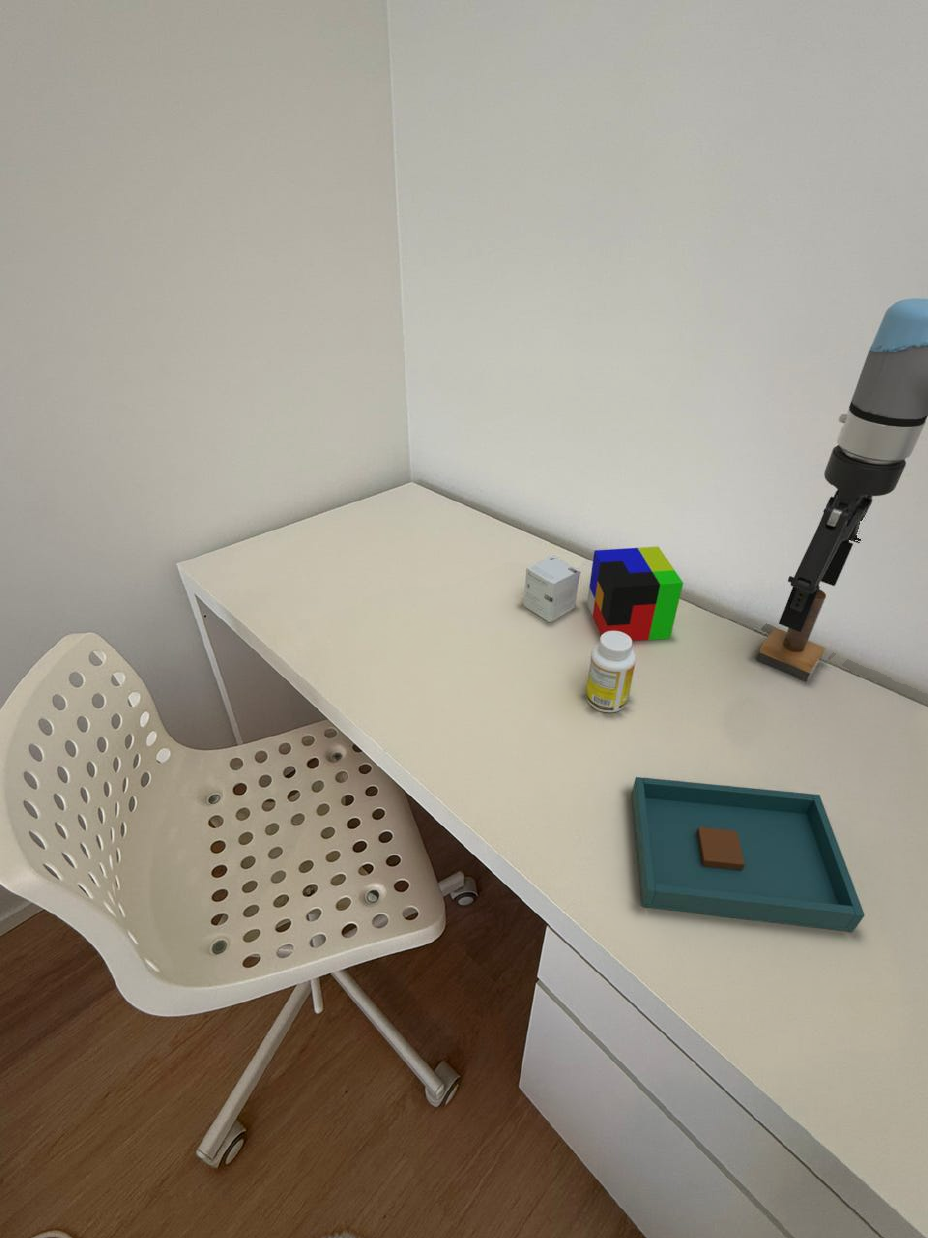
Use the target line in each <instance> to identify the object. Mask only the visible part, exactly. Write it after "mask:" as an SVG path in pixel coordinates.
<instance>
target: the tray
mask: <svg viewBox="0 0 928 1238" xmlns="http://www.w3.org/2000/svg"><path fill="white" fill-rule="evenodd" d="M631 802H632V803H631V805H632V813H633V815H632V816H633V823H634V824H633V825H634V833H635V834H634V835H635V845H636V847H635V848H636V854H637V856H636V857H637V867H638V878H639V888H640V898H641V907H642V908H648V909H649V908H650V909H657V910H665V911H673V912H682V913H689V914H691V913H692V914H699V915H706V916H707V915H708V916H716V917H724V918H732V919H740V920H748V921H749V920H750V921H758V922H766V923H775V924H781V925H782V924H783V925H791V926H798V927H807V928H817V929H824V930H832V931H841V932H848V933H850V932H851V933H853V932H854V931H855V930H856V928H858V925H860V923H861V921H862V920H863V919H864V917H865V916H866V915H865V912H864V910H863V907H862V904H861V902H860V899H859V896H858V894H857V891H856V888H855V885H854V882H853V880H852V878H851V875H850V872H849V869H848V866H847V864H846V861H845V859H844V857H843V854H842V851H841V848H840V845H839V842H838V840H837V837H836V835H835V832H834V829H833V827H832V824H831V821H830V819H829V816H828V814H827V813H828V812H827V811H826V808H825V805H824V803H823V800H822V798H821V795H820V794H811V793H805V792H804V793H803V792H795V791H794V792H792V791H784V790H783V791H782V790H772V789H762V788H752V787H743V786H740V787H739V786H731V785H723V784H714V783H702V782H692V781H683V780H671V779H661V778H653V777H652V778H651V777H641V776H635V779H634V782H633V786H632V792H631ZM698 827H706V828H715V829H724V830H734V831H737V833H738V838H739V842H740V846H741V850H742V854H743V859H744V863H745V866H744V868H743V870H742V871H737V870H728V869H719V868H710V867H702V865H701V859H700V853H699V848H698V842H697V837H696V832H697V829H698Z"/></svg>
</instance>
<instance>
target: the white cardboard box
mask: <svg viewBox="0 0 928 1238" xmlns="http://www.w3.org/2000/svg"><path fill="white" fill-rule="evenodd" d="M525 568H526V569H525V580H524V590H523V591H524V592H523V603H522V604H523V607H525V608H527V609H528V610H529V611H531V612H533V613H535V614H536V615H537V616H539V617H540V618H542V619H543V620H545V621H546V622H547V623H551V622H553V621H555V620H557V619H559V618H560V617H562V616H564V615H565V614H567V613H569V612H571V611H572V610H574V609H575V608H576V604H577V597H578V596H577V595H578V590H579V583H580V576H581V570H580V569H578V568H576V567H574V566H573V565H571V564H570V563H568V562H567V561H564V560H562V559H560V558H558V557H557V556H554V555H550V556H548V557H546V558H543V559H541V560H540V561H538V562H535V563H533V564H531V565H529V566H527V567H525Z"/></svg>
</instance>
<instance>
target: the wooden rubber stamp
mask: <svg viewBox="0 0 928 1238" xmlns="http://www.w3.org/2000/svg"><path fill="white" fill-rule="evenodd" d="M826 598H827V595H826V592H824V591H823V590H821V589H820V588H819V591H818V593H817V596H816V598H815V600H814V603H813V605H812V608H811V610H810V612H809V615H808V617H807V620H806V622H805V624H804V627H803V629H802V631H801V632H798V631H796V630H793V629H791V628H788V627H787V631H784V630H783V629H780V628H777V627H774V628H773V630H772V631H771V632H770V633H769V635H768V636H767V637H766V638H765V640H764V641H763V642H762V644H761V646H760V649H759V652H758V654H757V657H756V661H758V662H759V663H762V664H764V665H767V666H769V667H771V668H774V669H776V670H778V671H781V672H783V673H785V674H787V675H789V676H792V677H794V678H797V679H799V680H802V681H803V682H808V681H809V680H810V678H811V676H812V674H813V673H814V672H815V670H816V669H817V667H818V665H819V664H820V662H821V659H822V657H823V655H824V652H825V650H826V647H825V646H822V645H820V644H817V643H815V642H812V641H809V639H810V636H811V634H812V632H813V630H814V627H815V624H816V622H817V620H818V617H819V615H820V612H821V609H823V605H824V603H825V600H826Z"/></svg>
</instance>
